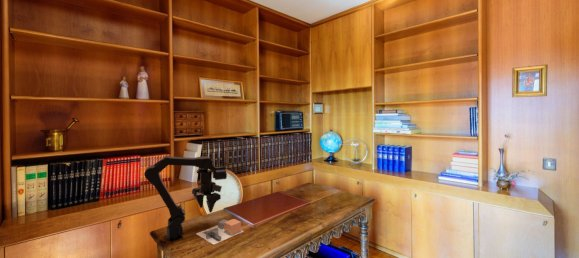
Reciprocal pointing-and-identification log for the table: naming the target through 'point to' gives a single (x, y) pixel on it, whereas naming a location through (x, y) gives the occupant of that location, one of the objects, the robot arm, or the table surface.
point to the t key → (213, 234)
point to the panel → (220, 233)
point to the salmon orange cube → (232, 226)
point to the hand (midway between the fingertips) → (205, 209)
